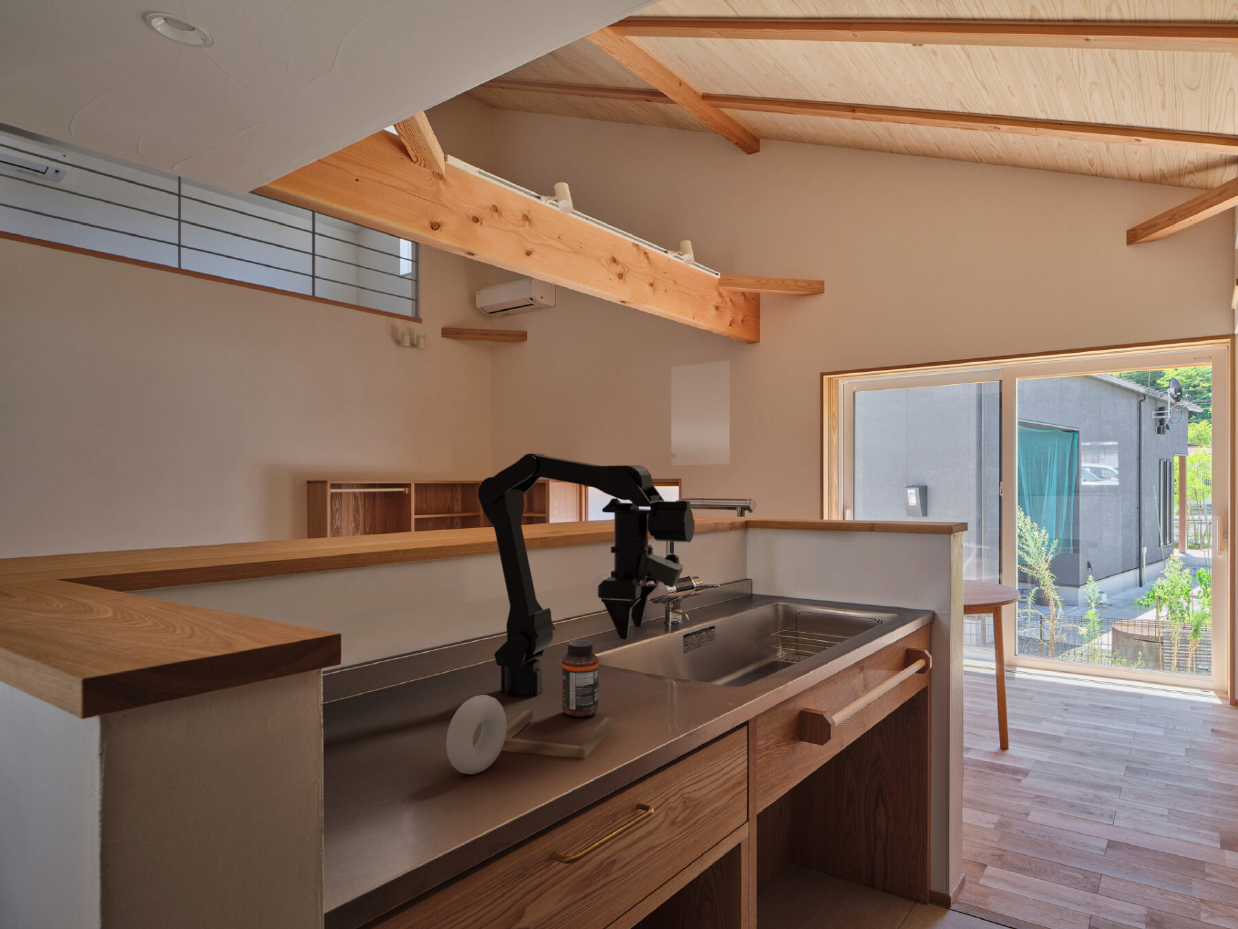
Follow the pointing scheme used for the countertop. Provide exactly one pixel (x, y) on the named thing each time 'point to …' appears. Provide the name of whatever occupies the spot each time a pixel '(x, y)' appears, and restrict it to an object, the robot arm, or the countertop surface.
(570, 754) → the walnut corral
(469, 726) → the donut
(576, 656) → the supplement bottle
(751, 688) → the countertop surface
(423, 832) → the countertop surface
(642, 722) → the countertop surface
